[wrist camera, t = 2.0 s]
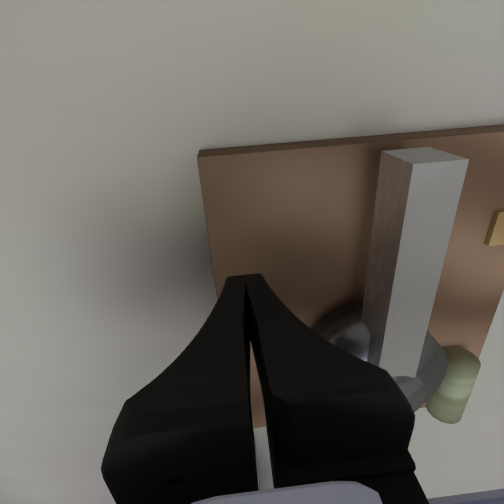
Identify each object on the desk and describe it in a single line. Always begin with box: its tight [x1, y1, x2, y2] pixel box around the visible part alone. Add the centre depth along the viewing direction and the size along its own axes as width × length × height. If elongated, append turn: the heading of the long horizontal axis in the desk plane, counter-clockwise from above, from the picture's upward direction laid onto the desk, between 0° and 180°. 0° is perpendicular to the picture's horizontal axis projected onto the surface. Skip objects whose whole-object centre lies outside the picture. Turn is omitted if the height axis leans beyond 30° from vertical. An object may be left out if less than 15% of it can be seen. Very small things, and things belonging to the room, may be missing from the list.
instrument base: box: [197, 125, 504, 428], centre depth 16 cm, size 16×14×3 cm
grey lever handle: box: [313, 147, 469, 412], centre depth 13 cm, size 13×6×3 cm, turn 4°
